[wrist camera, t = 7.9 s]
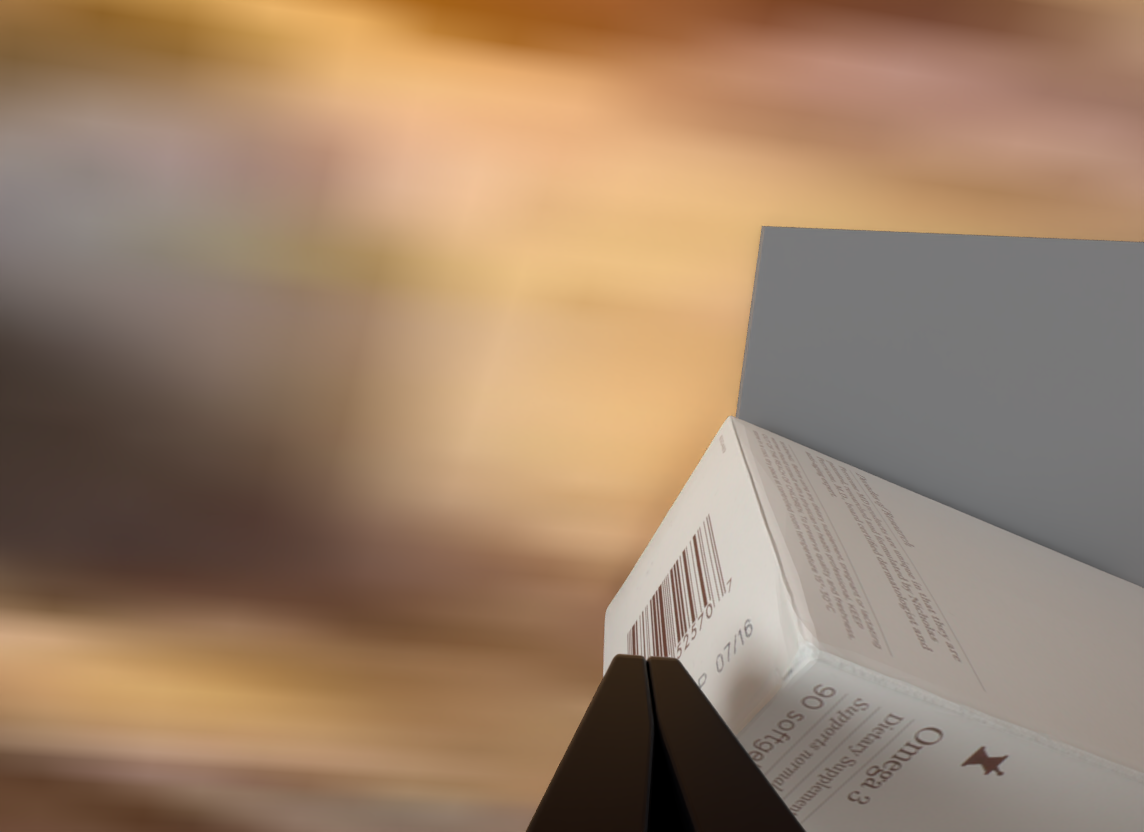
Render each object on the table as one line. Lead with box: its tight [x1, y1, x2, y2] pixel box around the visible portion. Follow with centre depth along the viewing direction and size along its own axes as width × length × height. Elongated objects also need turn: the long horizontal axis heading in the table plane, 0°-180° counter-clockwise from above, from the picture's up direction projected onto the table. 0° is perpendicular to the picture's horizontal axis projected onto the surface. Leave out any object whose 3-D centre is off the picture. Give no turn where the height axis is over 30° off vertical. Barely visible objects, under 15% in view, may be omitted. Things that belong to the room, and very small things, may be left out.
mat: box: [736, 226, 1144, 588], centre depth 16 cm, size 14×11×1 cm
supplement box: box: [603, 416, 1144, 832], centre depth 14 cm, size 7×7×13 cm
